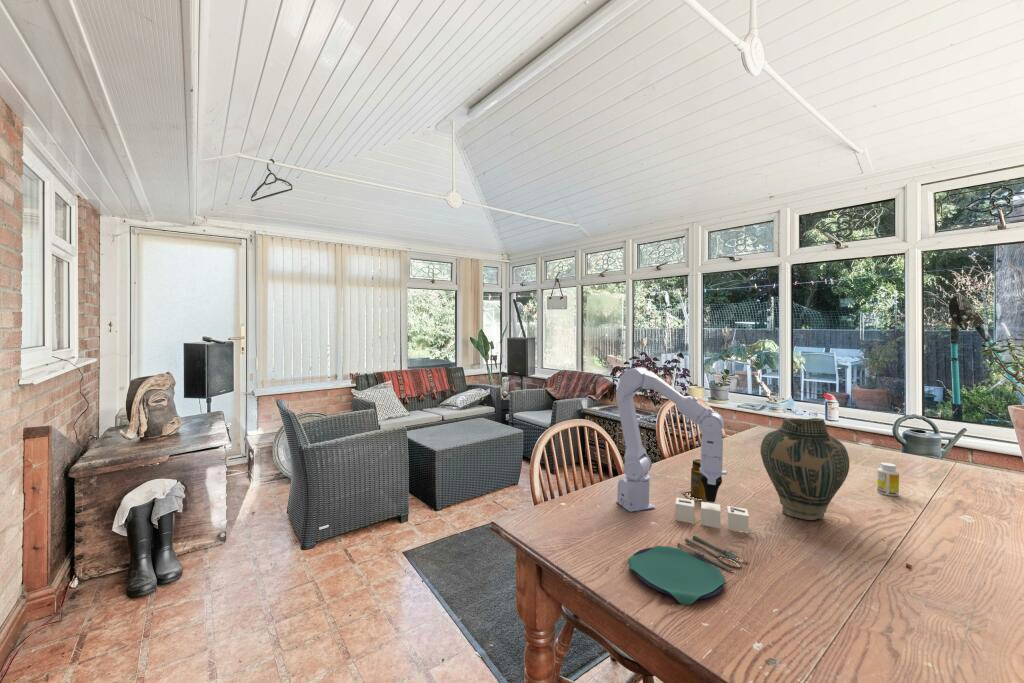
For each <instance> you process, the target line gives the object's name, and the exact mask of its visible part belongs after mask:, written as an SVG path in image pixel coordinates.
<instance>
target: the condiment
mask: <svg viewBox="0 0 1024 683" xmlns="http://www.w3.org/2000/svg"><path fill="white" fill-rule="evenodd" d="M700 467H701V458H700V459H693V460H692V467H691V470H690V491H680V493H681V494H682V493H683V494H684V493H685V495H684V496H685V497H686V493H688V495H689V493H691V496H690V497H691V498H689V497H688V498H687V499H689V500H690V499H691V500H692V499H693V498H692V497H694V498H697V500H696V499H693V500H694V502H695V501H696V502H699V501H700V502H701V501H707V500H706V496H705V489H704V486H703V483H702V481H701V479H700V477H701V474H702V473H701V472H700ZM683 494H682V495H683ZM698 499H702V500H698Z"/></svg>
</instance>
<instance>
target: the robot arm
mask: <svg viewBox="0 0 1024 683" xmlns="http://www.w3.org/2000/svg"><path fill="white" fill-rule="evenodd" d="M640 389H644V390H654V391H655V392H656V393H659V395H661V396H663V397H665V398H666V399H667V400H669V401H671V402H672V403H674V404H675V405H676V408H677V411H678V412H679V413H680V414H682V415H683V416H684V417H685V418H687V419H689V420H690V421H692V422H693V423H694V424H695V425H698V426H699V429H700V431H701V438H700V460H701V467H700V472H701V473H702V474H701V477H700V479H701V481H702V483H703V486H704V489H705V496H706V500H705V501H706V502H707V503H715V502H716V500H717V499H716V498H717V494H718V490H719V488H720V486H721V485H722V483H723V476H727V474H728V472H727V470H725V469H724V470H723V459H724V458H723V455H724V454H723V453H724V439H723V438H724V435H723V429H724V427H725V419H724V417H723V416H722V415H721V414H720V413H719V412H717V411H713V408H711V407H709V408H708V407H707V406H706V405H704V404H702V403H701V402H699V398H698V397H696V396H694V397H692V396H691V395H686V396H684V395H683V394H681V393H680V392H679V391H677V390H676V389H675V388H674V387H672V386H671V385H670V384H668V383H667V382H666V381H665V380H663V379H662V378H661V377H659V376H658V375H657V374H655V373H654V372H653V371H649V369H647V368H646V367H644V366H638V367H634V368H628V369H626V370H625V371H624V372H623V373H622V374H621V376H619V383H618V386H617V388H616V391H615V398H616V405H617V409H618V414H619V420H620V425H621V430H622V434H623V438H624V444H625V445H624V446H625V451H624V456H623V457H624V465H623V471H624V475H625V477H623V478H621V479H619V480H618V483H617V500H616V501H615V502H616V503H617V502H618V503H619V504H618V503H617V504H618V505H620V506H621V505H622V506H623V508H624V509H625V510H626V511H628V512H629V513H631V512H638V511H644V510H645V511H646V510H650V509H655V508H656V506H655V505H653V504H652V503H650V475H649V471H650V470H651V469H652V460H651V458H650V457H649V455H648V453H647V450H646V448H645V447H644V446H643V441H642V438H641V432H640V426H639V421H638V416H637V411H636V406H635V402H634V397H635V395H636V394H637V393H638V392H639V391H640ZM622 506H621V507H622Z"/></svg>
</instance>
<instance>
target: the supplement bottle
mask: <svg viewBox="0 0 1024 683" xmlns="http://www.w3.org/2000/svg"><path fill="white" fill-rule="evenodd" d="M876 474H877V475H876V476H877V480H876V481H877V483H876V490H877V492H878V493H879V494H882V495H884V496H889V497H890V496H891V497H898V496H899V494H900V491H899V490H900V472H899V471H898V470H897V465H896V464H893V463H890V462H880V467H879V468H877V473H876Z"/></svg>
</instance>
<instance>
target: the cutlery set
mask: <svg viewBox="0 0 1024 683" xmlns="http://www.w3.org/2000/svg"><path fill="white" fill-rule="evenodd" d="M692 539H693V540H694V541H692V540H691V539H689V538H685V539H684V542H686V543H688V544H690V545H693V546H695V547H697V548H698V549H701V550H702V551H705V552H707V553H708V554H710V555H712V556H713V557H716V558H717V559H718V560H719V562H720V563H719V562H718V561H715V560H713V559H711V558H709V557H707V556H705V553H701V552H700V551H696V550H693V549H692V548H689V547H687V546H686V545H683V544H681V543H680V542H678V543H677V546H680V547H682V548H684V549H687V550H688V551H691V552H692V553H693V554H692V553H691V552H687V551H686V550H684V549H682V548H680V547H674V546H665V545H655V546H653V547H648V548H643V549H639V550H638V551H637V552H634V553H633V554H632V555H631V556H629V557H628V559H627V561H628V568H629V571H632V572H633V574H634V575H635V576H636V578H637V579H639V580H640V581H641V582H642V583H644V585H646V586H648V587H650V588H652V589H654V590H656V591H658V592H659V593H662V594H665V595H668V596H670V597H673V598H675V599H676V601H677V602H678V603H679V604H681V605H684V606H690V605H691V604H692V605H693V604H694V603H695V602H696V601H697V600H706V599H707V600H708V599H709V598H713V597H715V596H718V595H719V594H720V593H721V592H722V591H723V590H724V585H726V584H727V581H726V579H725V576H724V575H723V573H722V571H721V569H723V568H724V569H723V570H725V569H726V570H725V571H727V570H729V571H734V570H733V569H732V568H736V567H737V565H736V566H735V565H734V566H733V565H731V564H729V563H727V562H724V561H723V560H722V558H727V559H731V558H734V559H736V558H741V557H740V556H738V555H736V554H735V553H734V552H733V553H732V551H730V550H729V551H728V550H727V549H723V548H721V547H717V546H715V545H713V544H711V543H709V542H707V541H706V540H704V539H702V538H701V537H699V536H698V535H692ZM695 541H697V542H699V543H701V544H703V545H705V546H706V545H707V547H708V546H709V547H708V548H711V549H713V548H714V549H713V550H715V549H716V550H715V551H718V552H721V553H724V554H723V555H721V554H720V555H719V554H716V553H714V552H712V551H711V550H709V549H707V548H706V547H704V546H702V545H700V544H698V543H696V542H695ZM725 554H726V555H725ZM727 556H728V557H727ZM720 557H722V558H721V559H719V558H720ZM729 557H731V558H729ZM727 559H726V560H727ZM734 559H731V560H733V561H735V562H736V563H738V564H739V565H740V567H738V568H742V564H740V562H738V561H736V560H737V559H736V560H734ZM738 560H739V559H738ZM722 562H723V563H722ZM721 563H722V564H721ZM736 563H735V564H736ZM725 564H727V565H726V566H725ZM728 565H730V566H729V567H731V566H733V567H732V568H729V567H727V566H728ZM719 566H720V567H719ZM718 567H719V568H721V567H722V568H721V569H719V568H718ZM729 571H728V572H729Z"/></svg>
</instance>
